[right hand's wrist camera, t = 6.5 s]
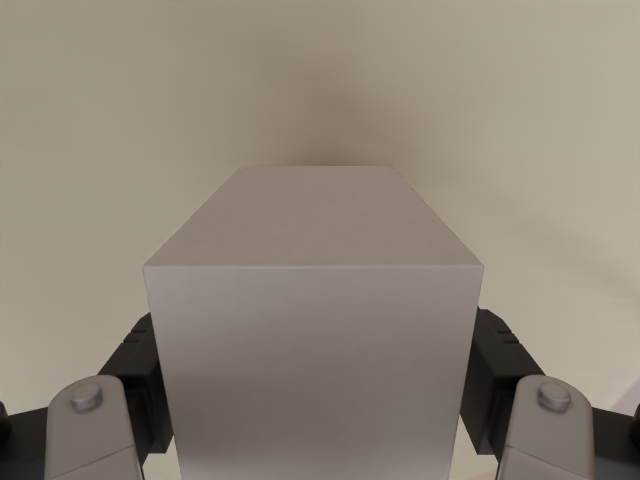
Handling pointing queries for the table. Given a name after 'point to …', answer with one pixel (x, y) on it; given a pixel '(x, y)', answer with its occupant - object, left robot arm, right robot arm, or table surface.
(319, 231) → the box
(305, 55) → the table surface
